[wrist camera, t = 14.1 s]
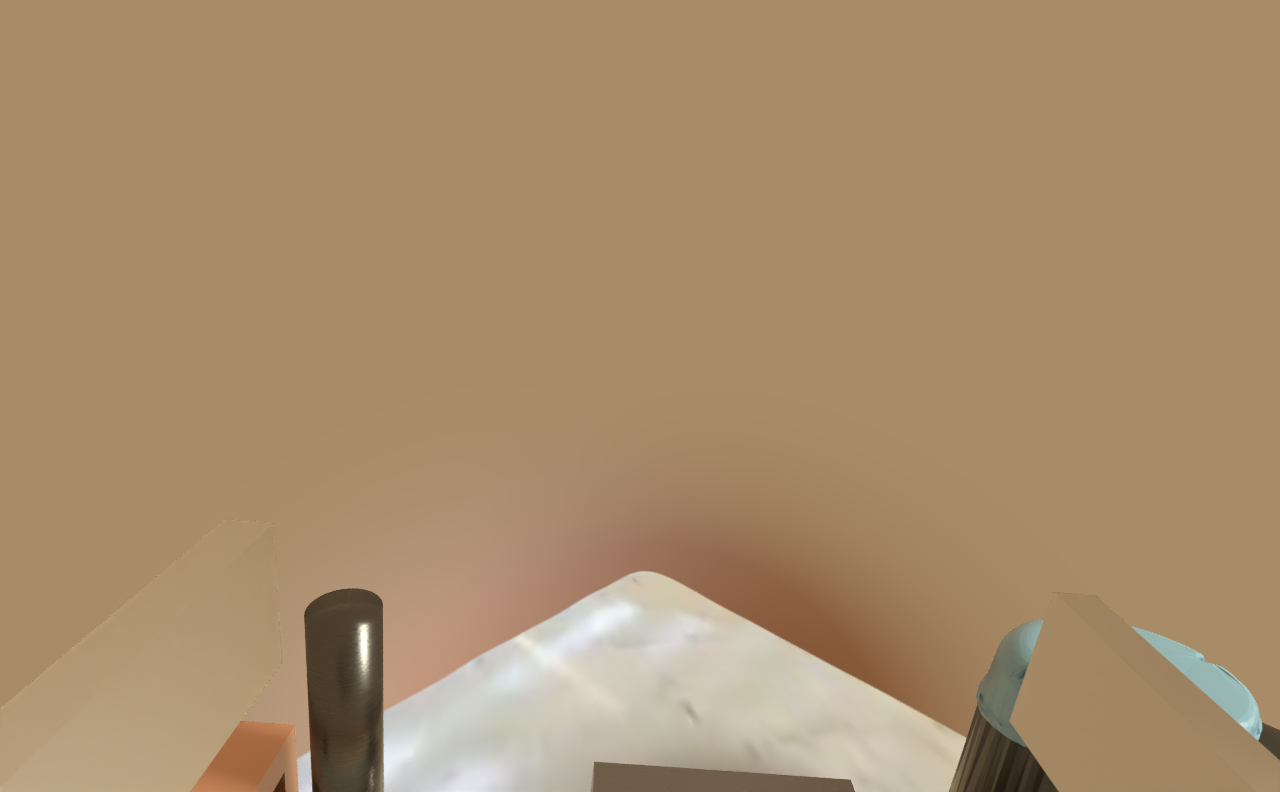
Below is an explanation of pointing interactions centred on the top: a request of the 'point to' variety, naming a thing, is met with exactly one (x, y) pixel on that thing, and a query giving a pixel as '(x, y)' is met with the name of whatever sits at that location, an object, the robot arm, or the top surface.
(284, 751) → the socket
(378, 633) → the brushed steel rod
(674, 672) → the top surface
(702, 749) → the top surface
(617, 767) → the box on wooden plank
